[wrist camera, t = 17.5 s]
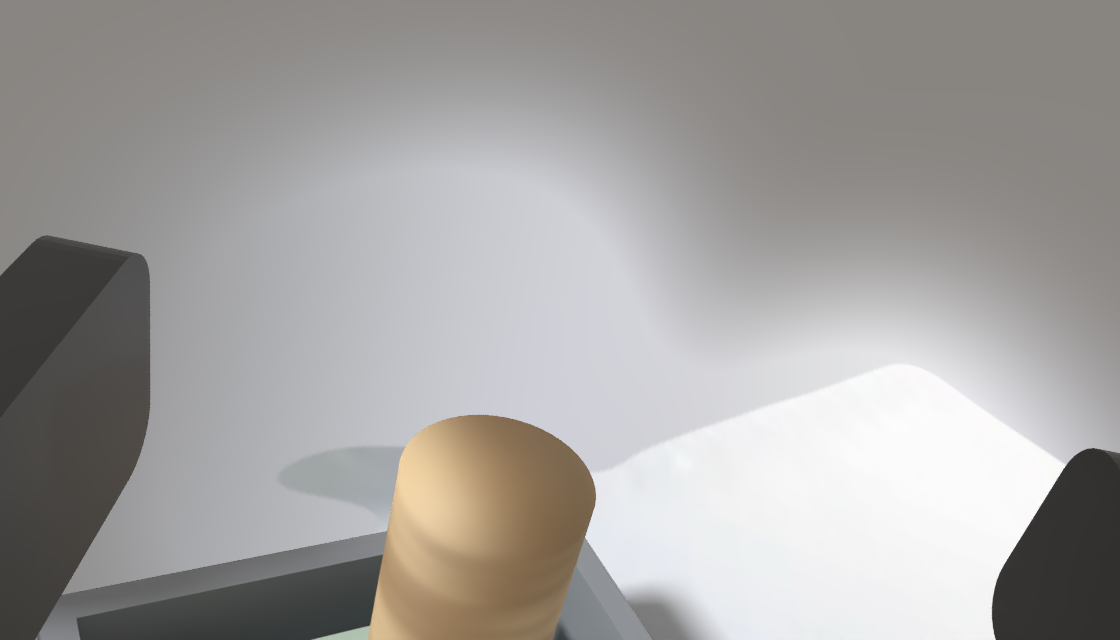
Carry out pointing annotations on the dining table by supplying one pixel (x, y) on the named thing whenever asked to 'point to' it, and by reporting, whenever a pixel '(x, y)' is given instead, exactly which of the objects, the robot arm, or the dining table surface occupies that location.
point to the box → (298, 600)
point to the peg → (481, 533)
